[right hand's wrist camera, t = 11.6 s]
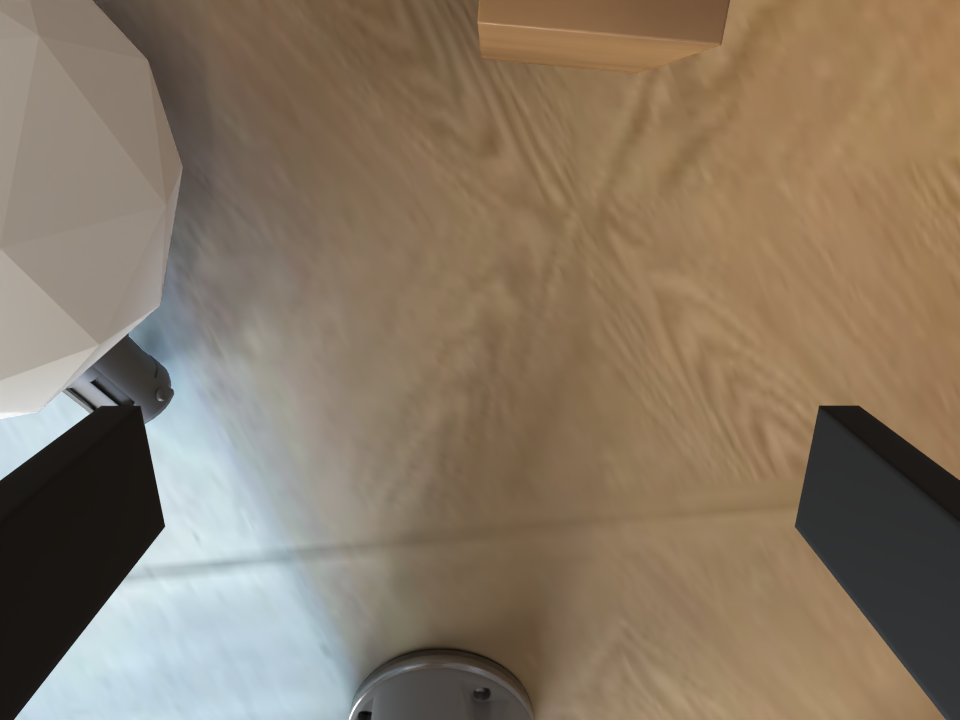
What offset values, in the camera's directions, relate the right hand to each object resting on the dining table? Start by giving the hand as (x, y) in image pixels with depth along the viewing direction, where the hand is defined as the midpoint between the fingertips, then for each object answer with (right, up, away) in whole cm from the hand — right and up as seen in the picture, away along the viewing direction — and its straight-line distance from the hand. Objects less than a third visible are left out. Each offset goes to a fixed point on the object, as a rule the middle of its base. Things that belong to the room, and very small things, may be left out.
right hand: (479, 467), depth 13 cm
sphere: (-25, +12, +26) cm, 38 cm away
